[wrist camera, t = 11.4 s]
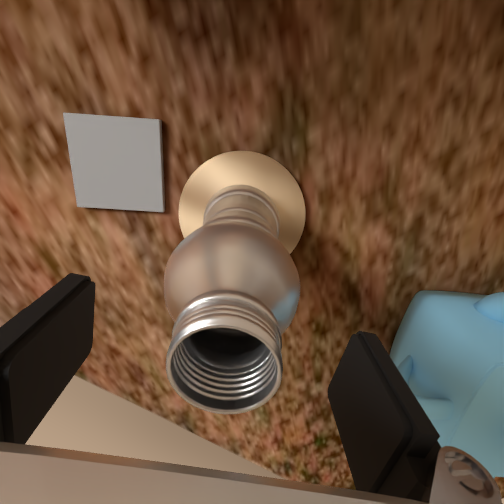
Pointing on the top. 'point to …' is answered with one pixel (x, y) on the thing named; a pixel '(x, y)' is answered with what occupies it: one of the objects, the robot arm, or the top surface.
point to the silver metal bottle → (230, 304)
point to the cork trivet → (252, 174)
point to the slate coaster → (116, 161)
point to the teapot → (457, 369)
